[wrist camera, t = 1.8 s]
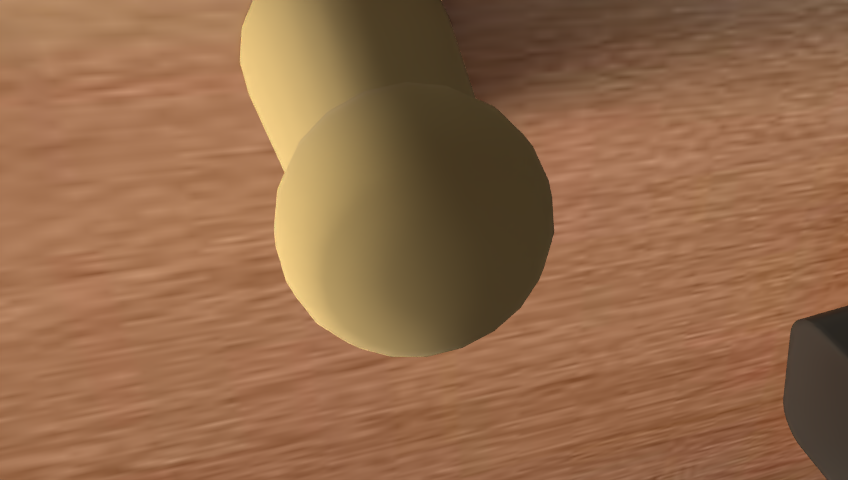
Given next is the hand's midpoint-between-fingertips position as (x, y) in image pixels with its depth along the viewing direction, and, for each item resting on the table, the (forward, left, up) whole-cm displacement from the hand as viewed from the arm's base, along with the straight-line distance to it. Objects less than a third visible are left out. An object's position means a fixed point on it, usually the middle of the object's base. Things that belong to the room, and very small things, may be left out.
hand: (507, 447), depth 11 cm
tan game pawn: (0, 0, -15) cm, 15 cm away
